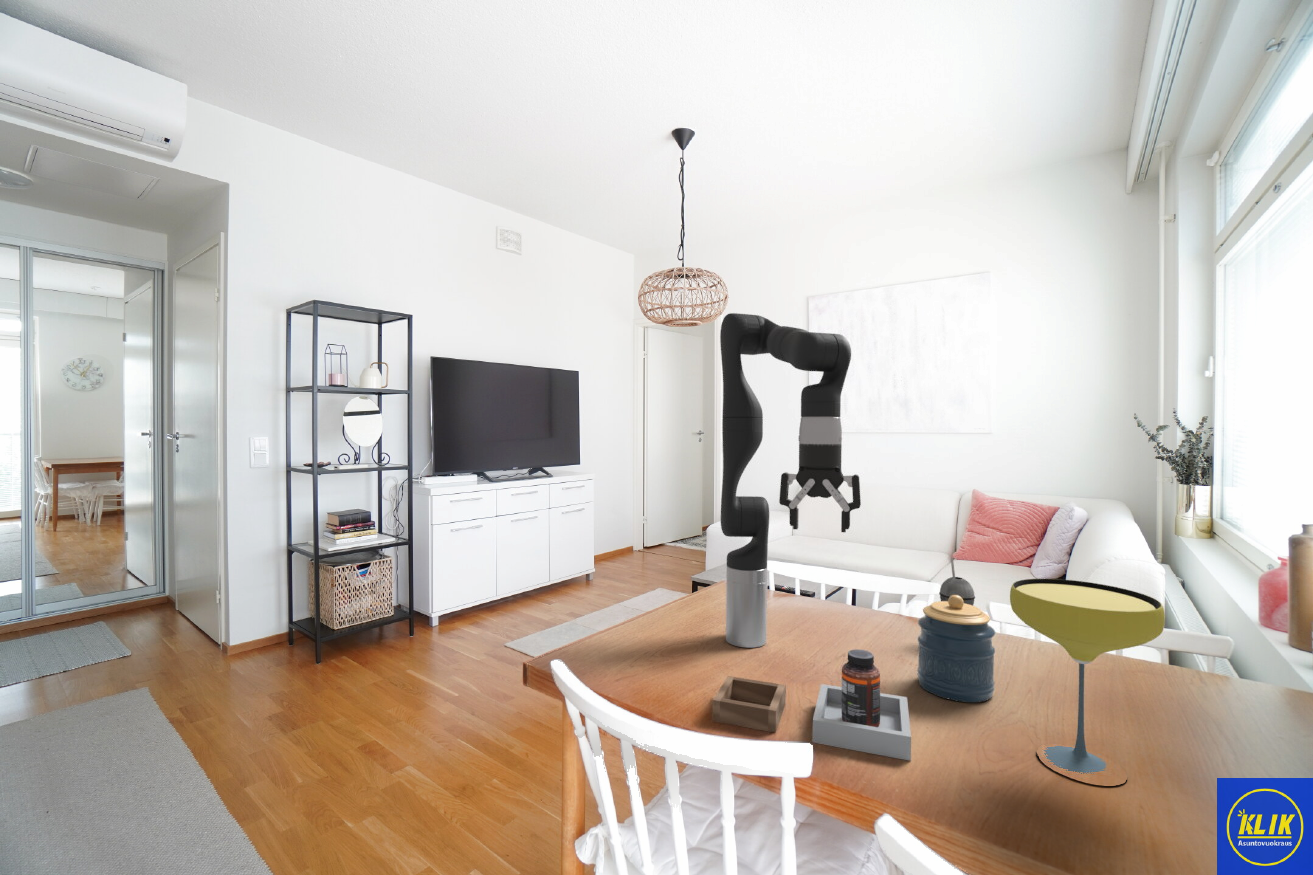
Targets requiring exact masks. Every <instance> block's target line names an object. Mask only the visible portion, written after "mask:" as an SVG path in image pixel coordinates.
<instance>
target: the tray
mask: <svg viewBox="0 0 1313 875" xmlns="http://www.w3.org/2000/svg"><path fill="white" fill-rule="evenodd" d="M908 705H909V704H908V697H907V696H903V695H896V694H895V695H894V694H888V693H883V692H880V725H879V726H878V727H872V726H867V725H861V724H855V723H849V722H844V721H843V720H842V686H835V685H829V684H825V683H824V684H823V683H821V684H820V688H819V692H818V696H817V701H816V704H815V709H814V713H813V717H812V743H815V744H821V745H826V746H829V747H830V746H831V747H835V748H842V749H846V750H851V751H852V750H853V751H856V752H857V751H858V752H862V753H867V754H873V755H879V756H883V757H887V758H893V759H899V760H900V759H901V760H905V761H909V762H911V761H912V733H911V724H910V723H911V722H910V721H911V720H910V714H909V713H910V712H909V706H908Z"/></svg>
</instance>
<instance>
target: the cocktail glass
mask: <svg viewBox="0 0 1313 875" xmlns="http://www.w3.org/2000/svg"><path fill="white" fill-rule="evenodd" d="M1009 602H1010V606H1011V610H1012V612H1013V613H1014V614H1015V616H1017V618H1018V619H1019V620H1021V621H1022V622H1023V623H1024V624H1025V625H1027V626H1028V627H1030V628H1031V629H1033V630H1034V631H1036V632H1037V633H1038V634H1041V635H1043V636H1045V637H1047V638H1048V639H1049V640H1052V641H1053V642H1055V643H1057V644H1058V645H1060V646H1061V647H1062V648H1064V649H1065V651H1066V652H1067V653H1068V655H1069V656H1070V658H1071V659H1072V660H1073V661H1074V662H1076V663H1078V704H1077V705H1078V706H1077V707H1078V708H1077V733H1076V740H1075V744H1074V746H1075V748H1072V747H1063V746H1055V747H1047V748H1048V749H1047V748H1046V749H1047V750H1044V751H1045V752H1046V753H1044V754H1045V755H1046V754H1047V755H1048V756H1046V757H1047V759H1049V760H1051V761H1050V762H1053V763H1054V764H1053V765H1056V766H1058V767H1059V768H1063V769H1068V771H1073V772H1074V771H1075V772H1079V773H1080V772H1083V774H1084V773H1086V772H1087V773H1089V772H1090V773H1091V772H1099V771H1105V770H1103V769H1105V768H1106V767H1105V766H1106V763H1105V761H1102V759H1101V758H1098V757H1097V756H1095V755H1093V754H1091V753H1088V752H1087V751H1086V749H1087V748H1086V741H1085V717H1084V716H1085V665H1089V664H1091V663H1092V662H1094V661H1095V660H1096V659H1097V658H1099V656H1100V655H1102V654H1105V653H1109V652H1114V651H1119V650H1125V649H1130V648H1134V647H1139V646H1142V645H1145V644H1148V643H1149V642H1151V641H1154V640H1155V639H1156V638H1158V637H1160V636H1161V634H1163V631H1164V629H1165V620H1166V616H1165V614H1166V613H1165V609H1164V605H1163V604H1162V602H1161V601H1160V600H1158V599H1156V598H1155V597H1151V596H1150V595H1146V594H1143V593H1141V592H1137V591H1134V590H1130V589H1126V588H1122V587H1117V586H1113V585H1107V584H1101V583H1095V582H1089V581H1082V580H1080V581H1079V580H1073V579H1061V578H1060V579H1059V578H1027V579H1020V580H1017V581H1015V582H1013V583H1012V585H1011V587H1010V592H1009ZM1048 762H1049V761H1048ZM1060 766H1061V767H1060ZM1066 771H1067V770H1066ZM1087 773H1086V774H1087ZM1081 774H1082V773H1081ZM1091 774H1092V773H1091ZM1093 774H1094V773H1093Z"/></svg>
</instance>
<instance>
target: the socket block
mask: <svg viewBox="0 0 1313 875" xmlns="http://www.w3.org/2000/svg"><path fill="white" fill-rule="evenodd" d="M786 689H787V687H786V684H782V683H773V682H768V681H763V680H757V679H749V678H743V677H736V676H732V675H727V677H726V678H725V680H724V681H723V683H722V684H721V686H720V688H719V689H718V691H717V693H716V694H715V696H714V697H713V699H712V722H715V723H722V724H727V725H732V726H733V725H734V726H738V727H744V728H749V729H754V730H759V731H765V732H769V733H777V730H778V727H779V724H780V722H781V719H782V716H783V713H784V710H785V707H786V699H787V698H786V697H787V696H786V693H787V692H786V691H787V690H786Z"/></svg>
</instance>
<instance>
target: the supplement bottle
mask: <svg viewBox="0 0 1313 875" xmlns="http://www.w3.org/2000/svg"><path fill="white" fill-rule="evenodd" d="M874 659H875V657H874V653H872V652H871V651H868V650H864V649H856V648H854V649H850V650H849V651H847V662H845V663H844V664H843V665H842V666H841V687H842V720H843V721H844V722H849V723H855V724H861V725H867V726H872V727H878V726H879V725H880V693H881V673H880V670H879V668H878V667H877V666H875V665H874V664H875V661H874Z"/></svg>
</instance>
